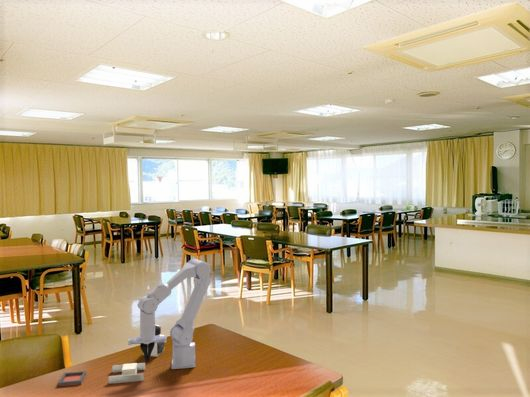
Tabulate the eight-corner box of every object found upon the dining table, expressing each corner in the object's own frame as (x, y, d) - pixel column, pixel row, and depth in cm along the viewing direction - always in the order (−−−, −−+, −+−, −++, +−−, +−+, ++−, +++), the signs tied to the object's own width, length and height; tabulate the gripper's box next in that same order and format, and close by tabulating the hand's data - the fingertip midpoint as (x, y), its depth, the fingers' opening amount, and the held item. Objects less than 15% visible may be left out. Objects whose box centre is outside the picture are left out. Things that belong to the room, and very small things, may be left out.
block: (136, 372, 164) (136, 362, 164) (135, 378, 159) (135, 368, 159) (123, 373, 163) (123, 364, 163) (122, 379, 158) (121, 369, 158)
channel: (145, 368, 167) (145, 362, 167) (143, 380, 157) (142, 374, 157) (112, 371, 164) (112, 365, 164) (108, 383, 154) (108, 377, 154)
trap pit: (86, 374, 162) (85, 370, 162) (81, 384, 154) (81, 380, 154) (64, 376, 160) (64, 372, 160) (58, 386, 152) (58, 382, 152)
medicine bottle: (157, 357, 178) (157, 329, 177) (142, 355, 179) (142, 328, 179) (164, 350, 185) (164, 324, 184) (150, 348, 186) (150, 322, 186)
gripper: (127, 332, 156) (127, 367, 156) (166, 329, 159) (166, 364, 159) (129, 325, 163) (129, 359, 163) (166, 323, 166) (166, 356, 166)
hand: (147, 361), depth 162 cm, fingers closed
